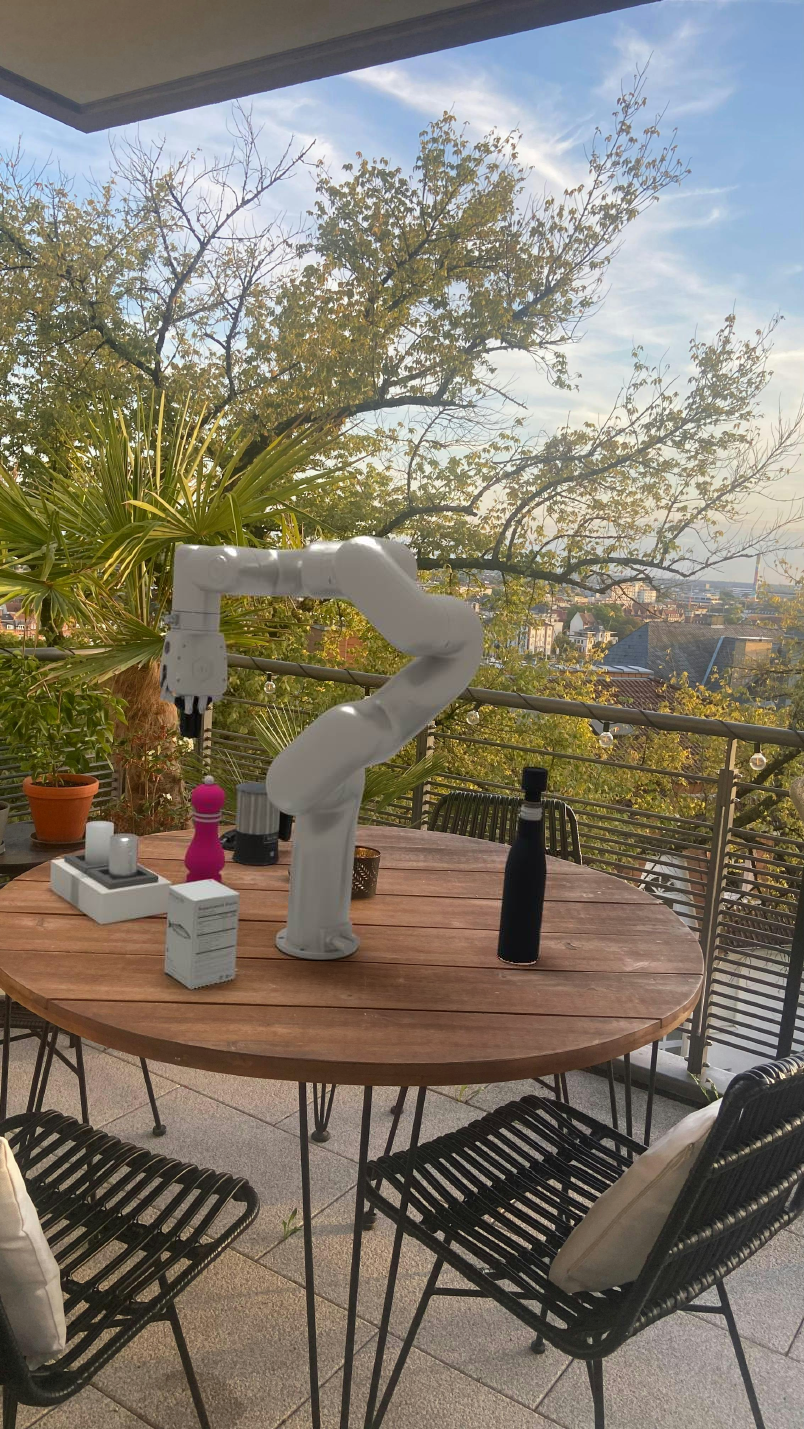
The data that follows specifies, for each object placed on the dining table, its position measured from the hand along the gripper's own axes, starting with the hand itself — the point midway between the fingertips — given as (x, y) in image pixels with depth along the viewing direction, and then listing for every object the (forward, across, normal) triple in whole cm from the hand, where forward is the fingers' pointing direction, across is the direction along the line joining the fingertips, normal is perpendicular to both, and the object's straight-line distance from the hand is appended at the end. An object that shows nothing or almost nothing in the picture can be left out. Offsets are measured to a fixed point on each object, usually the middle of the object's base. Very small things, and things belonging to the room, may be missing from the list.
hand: (189, 736), depth 157 cm
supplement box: (+29, -11, -25) cm, 40 cm away
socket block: (+29, -8, +10) cm, 32 cm away
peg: (+29, -8, +6) cm, 31 cm away
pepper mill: (+29, +10, +10) cm, 33 cm away
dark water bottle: (+29, +34, -44) cm, 63 cm away
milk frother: (+29, +28, +23) cm, 47 cm away
